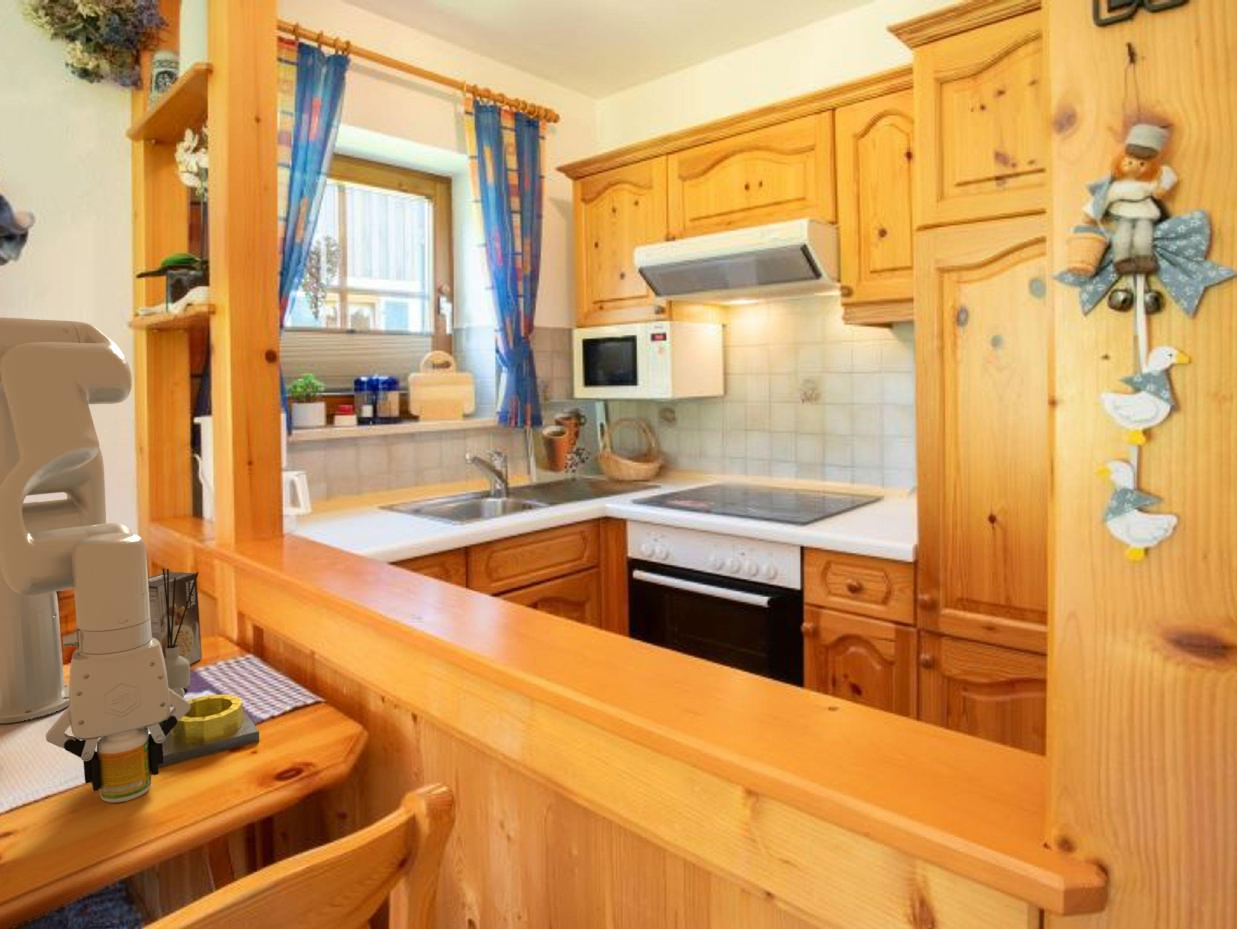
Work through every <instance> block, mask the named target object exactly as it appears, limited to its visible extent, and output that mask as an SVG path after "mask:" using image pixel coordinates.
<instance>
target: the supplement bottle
mask: <svg viewBox="0 0 1237 929" xmlns="http://www.w3.org/2000/svg"><path fill="white" fill-rule="evenodd" d="M96 751H97V755H98V759H99V771H100V785H101V789H99V796H100V799H101V800H102V801H104V802H106V803H111V804H112V803H123V802H127V801H131V800H134V799H137V798H139V797H140V796H142V795H145V794H146V793H147V792H148V791H149V790H150V789H151V787H152V776H151V775H152V774H151V771H150V757H149V741H148V733H147V731H146V730H145V729H143V728H140V729H136V730H131V731H127V732H123V733H119V734H114V735H110V736H105V737H101V738H99V739H98V742H97V745H96Z"/></svg>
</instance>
